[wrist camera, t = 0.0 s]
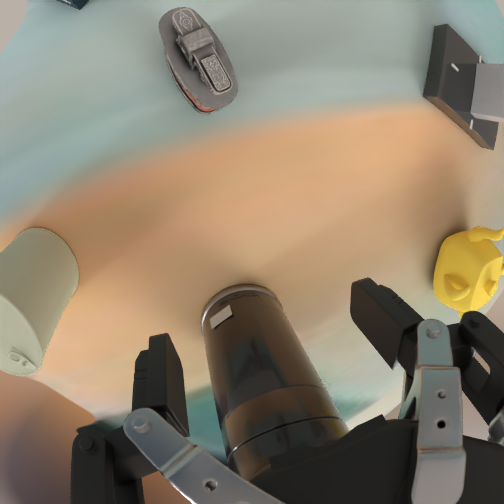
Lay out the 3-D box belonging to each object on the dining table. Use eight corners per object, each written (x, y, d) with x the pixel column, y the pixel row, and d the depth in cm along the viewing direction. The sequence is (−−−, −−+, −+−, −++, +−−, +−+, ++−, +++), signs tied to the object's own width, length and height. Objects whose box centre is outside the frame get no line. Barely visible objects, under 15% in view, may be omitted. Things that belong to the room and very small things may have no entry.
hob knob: (476, 63, 23) (510, 64, 17) (482, 69, 23) (515, 71, 18) (470, 112, 26) (506, 118, 20) (475, 118, 26) (511, 124, 21)
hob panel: (491, 83, 27) (503, 84, 25) (481, 149, 31) (493, 152, 29) (434, 24, 22) (448, 21, 20) (422, 98, 26) (437, 99, 24)
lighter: (156, 49, 19) (143, 6, 10) (191, 32, 19) (197, -17, 10) (196, 121, 23) (204, 115, 14) (230, 103, 23) (259, 89, 14)
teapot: (410, 266, 36) (459, 304, 27) (458, 200, 34) (511, 225, 25) (437, 304, 42) (474, 338, 33) (477, 249, 40) (517, 275, 31)
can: (53, 317, 27) (20, 393, 16) (-1, 264, 23) (-54, 326, 12) (95, 271, 26) (60, 350, 16) (35, 208, 22) (-32, 261, 11)
